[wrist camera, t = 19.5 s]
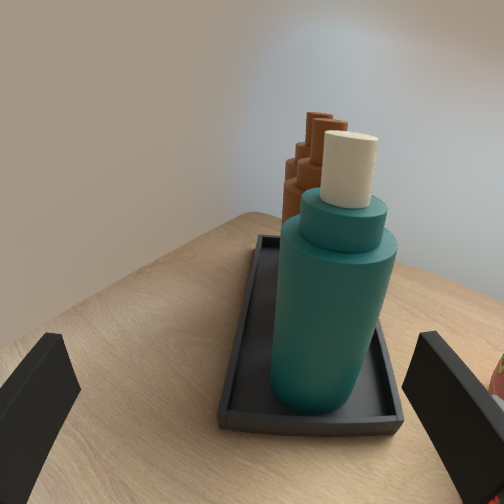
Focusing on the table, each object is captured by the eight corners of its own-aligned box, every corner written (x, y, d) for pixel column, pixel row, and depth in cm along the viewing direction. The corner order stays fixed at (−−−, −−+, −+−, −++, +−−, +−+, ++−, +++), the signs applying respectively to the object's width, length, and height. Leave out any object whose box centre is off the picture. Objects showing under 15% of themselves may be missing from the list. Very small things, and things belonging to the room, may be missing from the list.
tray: (218, 428, 20) (216, 415, 19) (258, 247, 45) (258, 234, 44) (395, 434, 19) (404, 420, 18) (351, 253, 44) (353, 241, 43)
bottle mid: (273, 331, 29) (286, 120, 20) (277, 290, 35) (287, 114, 26) (345, 335, 28) (383, 130, 20) (338, 294, 34) (362, 121, 25)
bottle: (266, 412, 21) (284, 137, 12) (272, 348, 27) (286, 123, 18) (356, 415, 21) (437, 156, 12) (348, 352, 26) (393, 134, 18)
